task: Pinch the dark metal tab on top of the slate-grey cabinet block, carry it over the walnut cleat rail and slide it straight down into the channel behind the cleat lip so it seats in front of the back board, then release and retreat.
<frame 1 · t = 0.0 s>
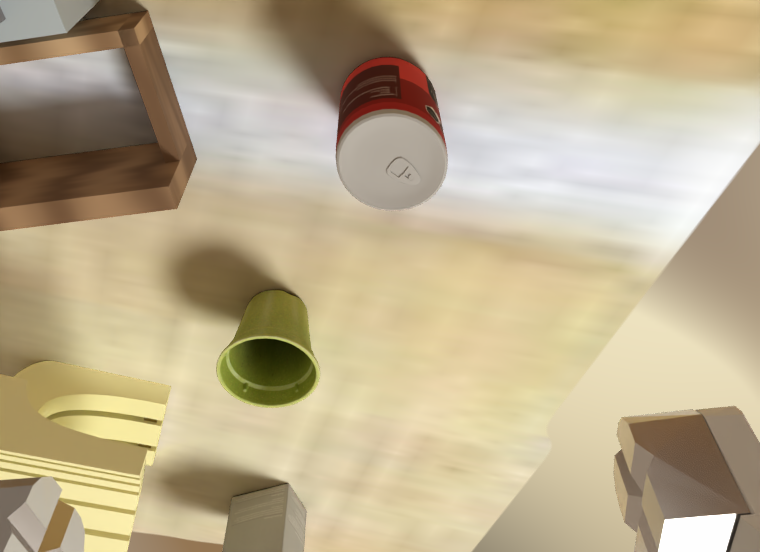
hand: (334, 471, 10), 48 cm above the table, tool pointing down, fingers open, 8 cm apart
plant pot: (277, 311, 71), on the table
canned food: (388, 99, 58), on the table
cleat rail: (78, 130, 59), on the table
bread basket: (91, 408, 80), on the table
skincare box: (270, 499, 91), on the table
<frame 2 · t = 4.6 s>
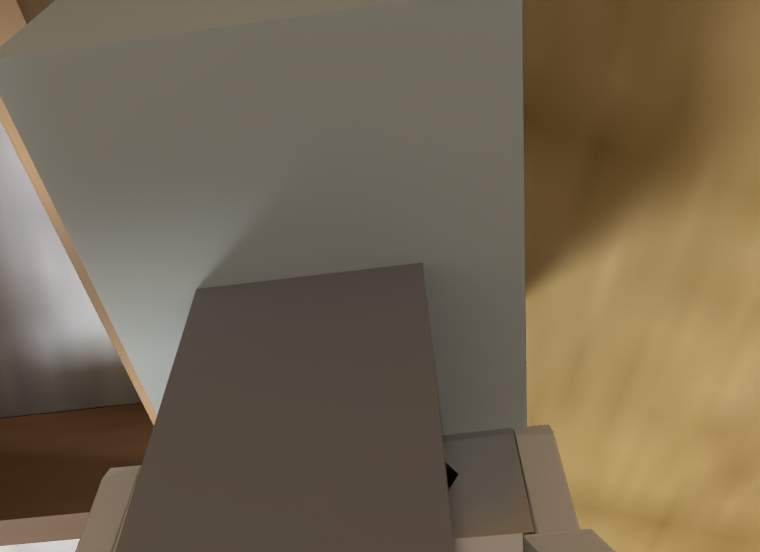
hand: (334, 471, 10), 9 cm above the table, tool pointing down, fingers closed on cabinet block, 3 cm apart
cabinet block: (348, 159, 18), on the table, touching gripper
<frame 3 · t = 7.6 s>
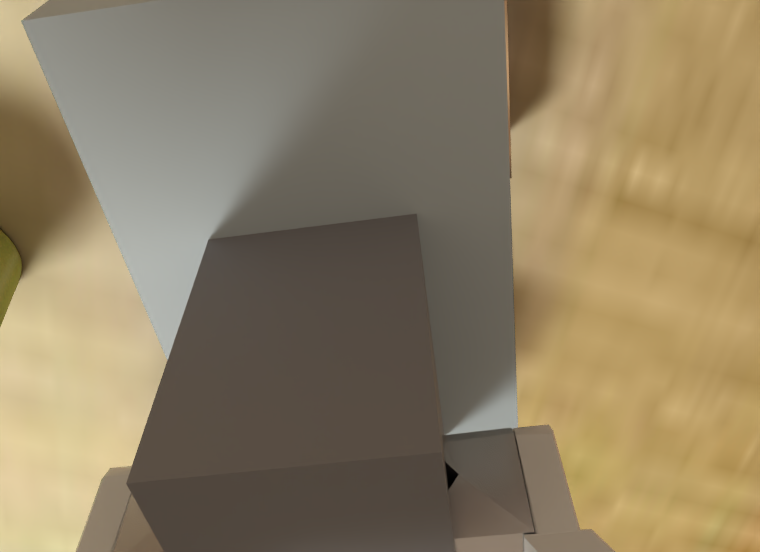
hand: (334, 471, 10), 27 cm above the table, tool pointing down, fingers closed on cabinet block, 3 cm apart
cabinet block: (350, 144, 19), point 16 cm above the table, touching gripper
when the fingers open (11 cm above the table, at t = 10.9 s): cabinet block stays where it is, resting in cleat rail.
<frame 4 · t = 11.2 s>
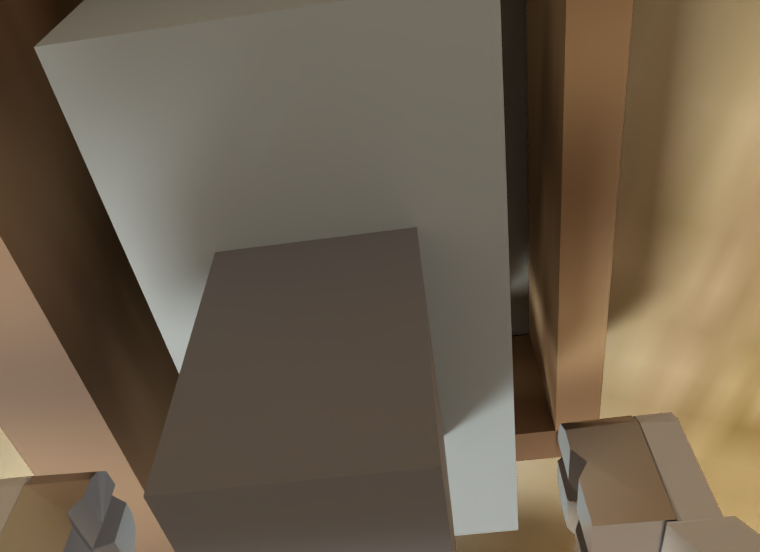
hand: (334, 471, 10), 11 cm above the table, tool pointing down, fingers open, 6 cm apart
cabinet block: (350, 146, 19), resting in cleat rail
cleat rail: (248, 150, 19), on the table
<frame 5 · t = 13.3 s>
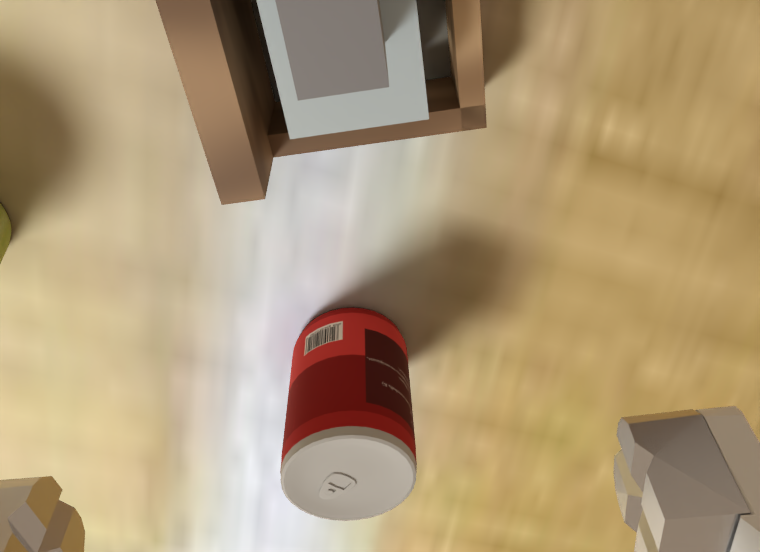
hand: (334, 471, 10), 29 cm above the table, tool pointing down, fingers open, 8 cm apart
canned food: (350, 345, 48), on the table
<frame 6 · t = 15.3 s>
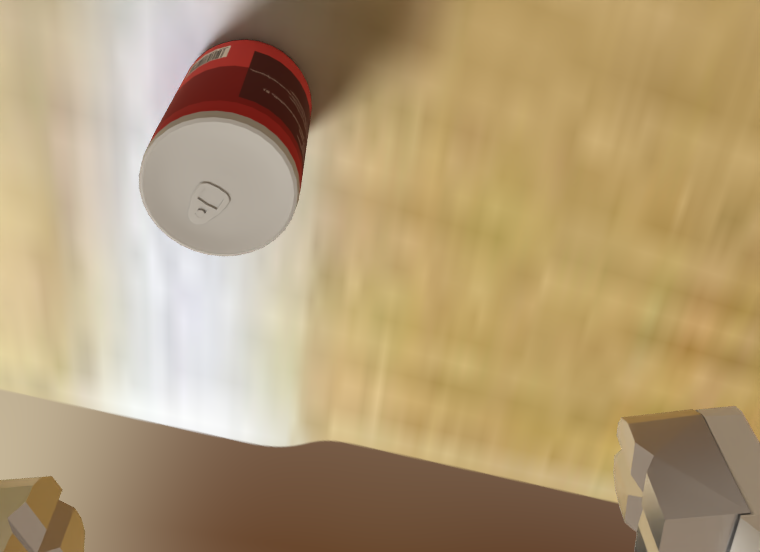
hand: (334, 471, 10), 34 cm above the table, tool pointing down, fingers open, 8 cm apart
canned food: (249, 97, 43), on the table
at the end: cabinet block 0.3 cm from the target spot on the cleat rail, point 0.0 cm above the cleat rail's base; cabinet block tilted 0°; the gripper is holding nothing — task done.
